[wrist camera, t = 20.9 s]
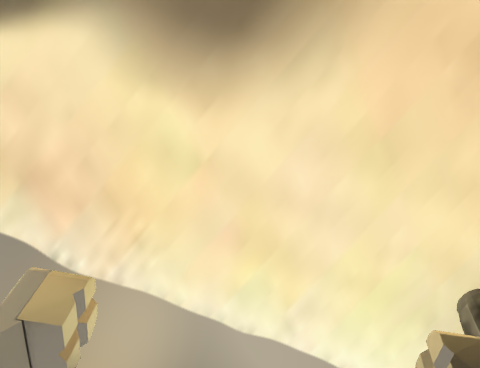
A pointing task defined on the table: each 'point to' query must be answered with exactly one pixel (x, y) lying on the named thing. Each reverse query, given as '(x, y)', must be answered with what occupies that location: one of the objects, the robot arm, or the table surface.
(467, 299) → the beverage cup
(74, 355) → the robot arm
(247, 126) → the table surface
